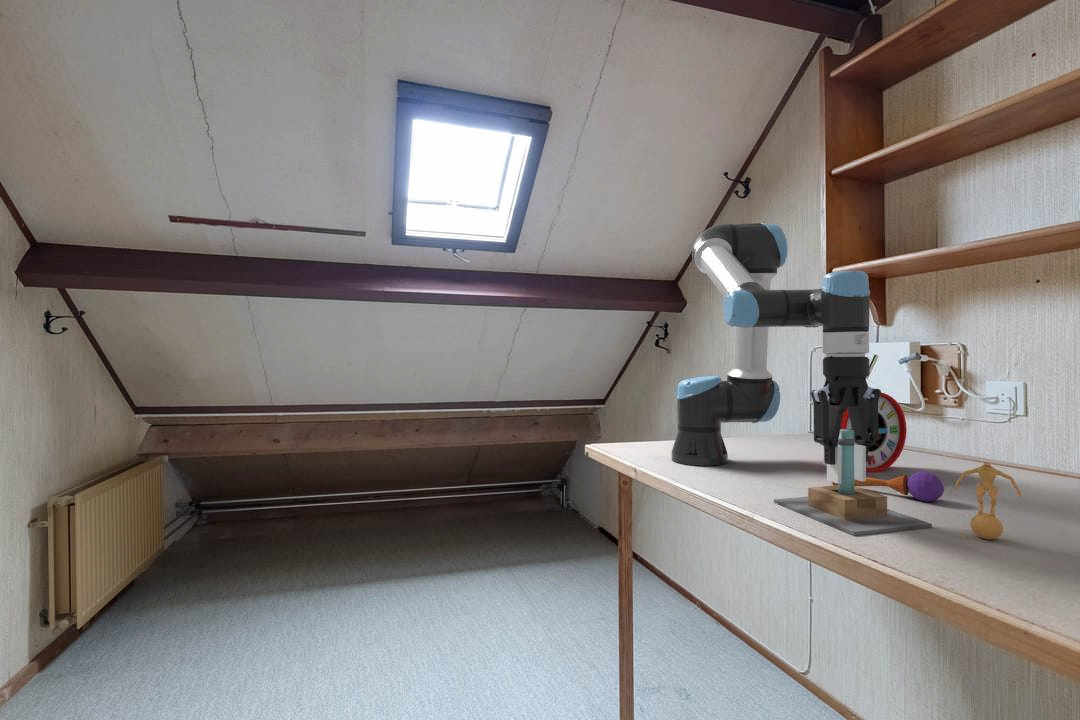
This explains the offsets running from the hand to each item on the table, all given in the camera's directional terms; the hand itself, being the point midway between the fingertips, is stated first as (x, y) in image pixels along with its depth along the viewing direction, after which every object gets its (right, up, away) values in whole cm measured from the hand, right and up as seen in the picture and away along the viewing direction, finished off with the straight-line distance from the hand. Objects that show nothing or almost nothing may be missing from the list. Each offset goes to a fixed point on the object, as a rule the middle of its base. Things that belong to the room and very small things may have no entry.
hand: (846, 480), depth 99 cm
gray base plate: (0, -6, 0) cm, 6 cm away
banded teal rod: (0, -6, 0) cm, 6 cm away
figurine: (+15, -6, -13) cm, 21 cm away
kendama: (+16, -6, +14) cm, 22 cm away
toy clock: (+26, -6, +36) cm, 44 cm away
